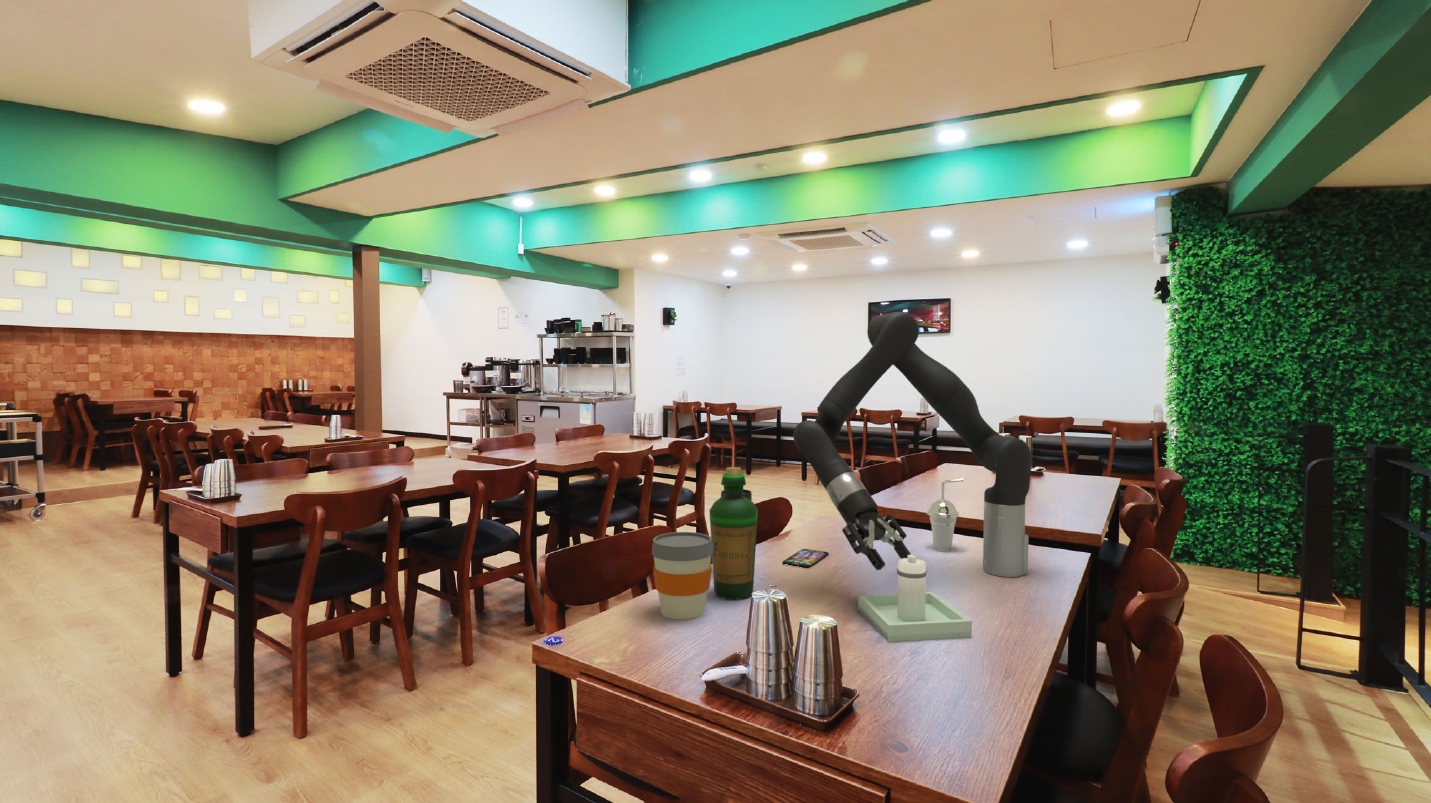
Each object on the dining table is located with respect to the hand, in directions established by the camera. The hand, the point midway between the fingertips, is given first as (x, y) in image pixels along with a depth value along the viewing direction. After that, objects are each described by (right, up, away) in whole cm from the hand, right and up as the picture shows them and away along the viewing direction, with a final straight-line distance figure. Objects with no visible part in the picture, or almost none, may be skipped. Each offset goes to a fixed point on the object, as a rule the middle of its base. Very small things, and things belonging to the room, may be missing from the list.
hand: (895, 564), depth 130 cm
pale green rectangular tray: (+2, -11, -3) cm, 11 cm away
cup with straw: (+27, -9, +50) cm, 57 cm away
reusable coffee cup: (-43, -11, +4) cm, 44 cm away
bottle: (-32, -10, +14) cm, 36 cm away
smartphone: (-12, -9, +41) cm, 43 cm away
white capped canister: (+2, -10, -3) cm, 10 cm away
